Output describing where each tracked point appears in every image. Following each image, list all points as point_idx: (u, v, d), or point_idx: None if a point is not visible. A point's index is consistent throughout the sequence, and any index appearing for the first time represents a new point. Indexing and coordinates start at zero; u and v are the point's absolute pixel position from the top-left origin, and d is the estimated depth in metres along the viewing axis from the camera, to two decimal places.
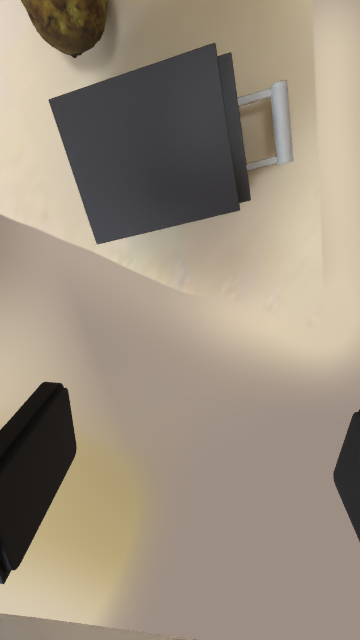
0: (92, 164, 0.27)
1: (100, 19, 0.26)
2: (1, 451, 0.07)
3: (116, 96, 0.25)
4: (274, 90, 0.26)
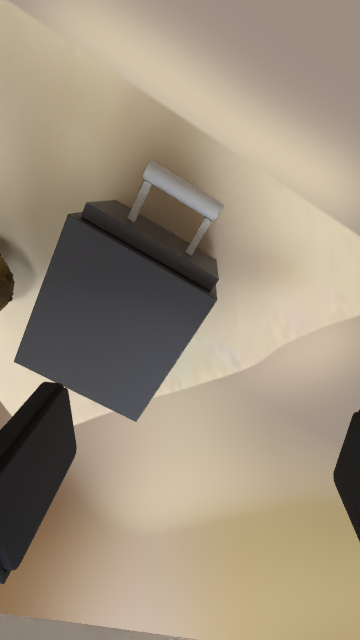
0: (78, 373, 0.27)
1: None
2: (1, 451, 0.07)
3: (47, 317, 0.25)
4: (149, 178, 0.22)
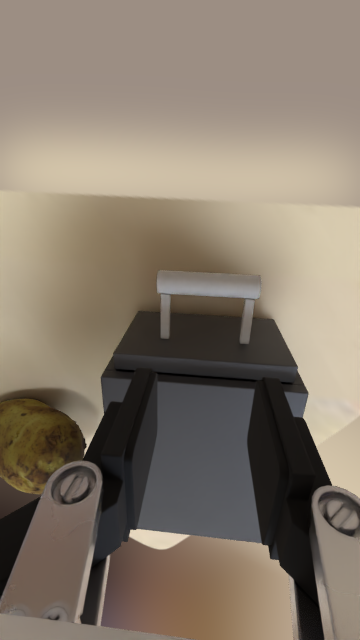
0: (183, 517, 0.23)
1: (61, 434, 0.26)
2: (130, 423, 0.08)
3: None
4: (165, 291, 0.19)
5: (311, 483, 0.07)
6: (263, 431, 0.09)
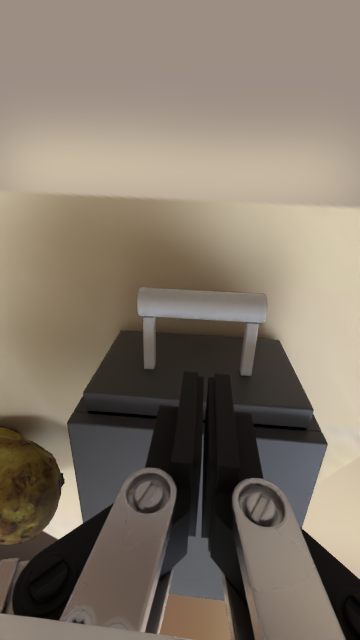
0: (174, 578, 0.19)
1: (31, 474, 0.22)
2: (192, 429, 0.08)
3: None
4: (147, 314, 0.15)
5: (237, 476, 0.07)
6: (207, 426, 0.09)
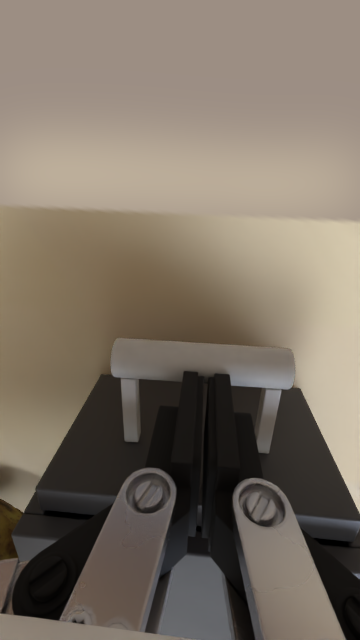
0: None
1: None
2: (192, 429, 0.08)
3: None
4: (126, 377, 0.11)
5: (237, 476, 0.07)
6: (207, 426, 0.09)
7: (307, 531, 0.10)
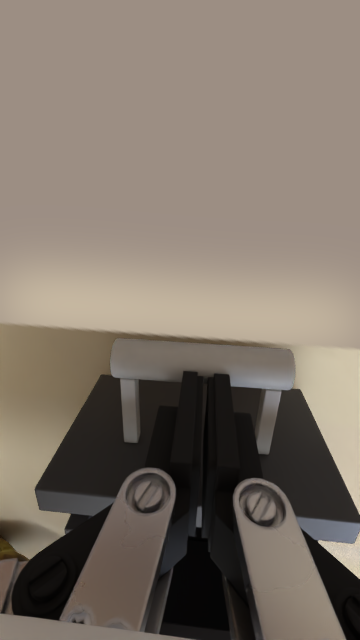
0: None
1: None
2: (192, 429, 0.08)
3: None
4: (126, 377, 0.11)
5: (237, 476, 0.07)
6: (206, 426, 0.09)
7: None
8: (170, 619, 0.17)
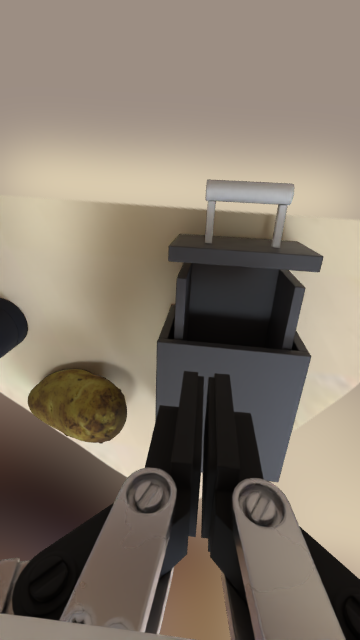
0: None
1: (111, 394, 0.32)
2: (192, 429, 0.08)
3: None
4: (212, 197, 0.23)
5: (237, 475, 0.07)
6: (207, 426, 0.09)
7: (297, 265, 0.22)
8: None
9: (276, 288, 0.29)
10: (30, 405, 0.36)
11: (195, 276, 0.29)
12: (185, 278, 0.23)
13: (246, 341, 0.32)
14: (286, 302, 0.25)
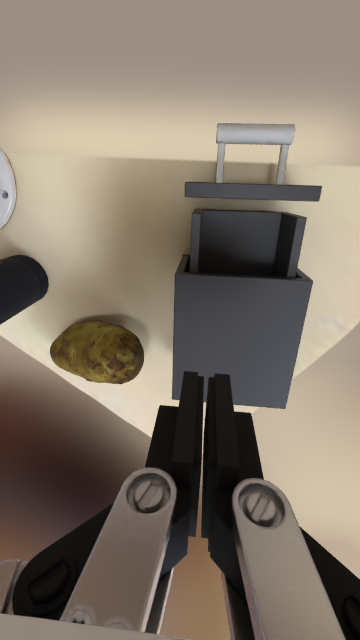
0: None
1: (130, 338, 0.35)
2: (192, 429, 0.08)
3: (185, 355, 0.31)
4: (222, 139, 0.26)
5: (237, 476, 0.07)
6: (207, 426, 0.09)
7: (299, 195, 0.25)
8: None
9: (279, 231, 0.32)
10: (53, 355, 0.38)
11: (205, 222, 0.32)
12: (199, 213, 0.26)
13: None
14: (289, 235, 0.28)
